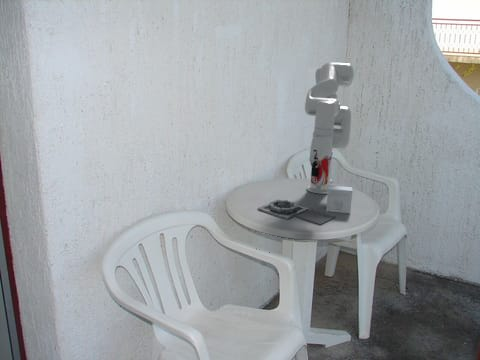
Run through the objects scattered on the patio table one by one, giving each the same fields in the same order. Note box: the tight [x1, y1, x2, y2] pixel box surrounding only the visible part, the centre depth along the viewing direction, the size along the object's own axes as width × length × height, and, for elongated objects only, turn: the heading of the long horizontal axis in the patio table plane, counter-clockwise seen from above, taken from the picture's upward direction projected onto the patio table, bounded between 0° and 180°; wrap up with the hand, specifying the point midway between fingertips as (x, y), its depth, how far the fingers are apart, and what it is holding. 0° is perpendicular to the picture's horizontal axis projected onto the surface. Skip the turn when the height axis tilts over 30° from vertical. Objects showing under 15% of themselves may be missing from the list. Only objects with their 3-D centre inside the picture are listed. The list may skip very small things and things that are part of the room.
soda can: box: [310, 157, 330, 186], centre depth 189 cm, size 7×7×12 cm
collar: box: [257, 199, 310, 220], centre depth 202 cm, size 16×16×2 cm
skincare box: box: [325, 184, 353, 214], centre depth 203 cm, size 10×6×10 cm, turn 78°
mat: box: [295, 208, 337, 226], centre depth 195 cm, size 12×12×1 cm
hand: (319, 174), depth 189 cm, fingers closed on soda can, 6 cm apart
